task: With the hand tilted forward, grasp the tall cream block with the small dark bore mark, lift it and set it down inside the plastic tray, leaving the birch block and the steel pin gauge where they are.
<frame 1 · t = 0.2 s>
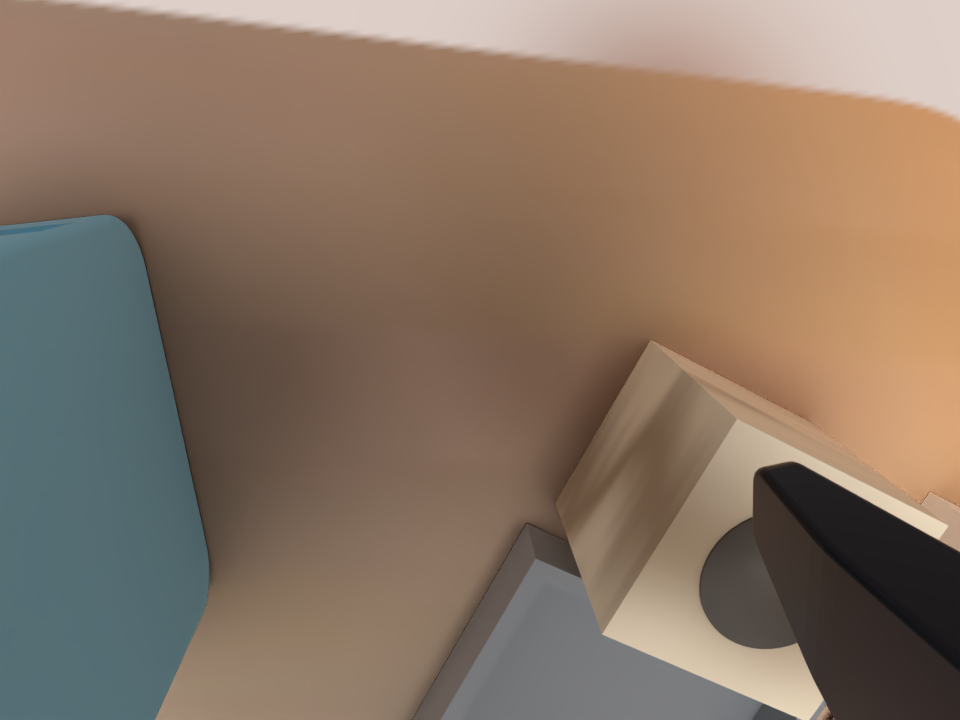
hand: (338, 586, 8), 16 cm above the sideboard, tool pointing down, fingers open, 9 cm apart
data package: (105, 417, 24), on the sideboard
birch block: (682, 462, 26), on the sideboard
tray: (589, 715, 28), on the sideboard
cream block: (948, 575, 27), on the sideboard
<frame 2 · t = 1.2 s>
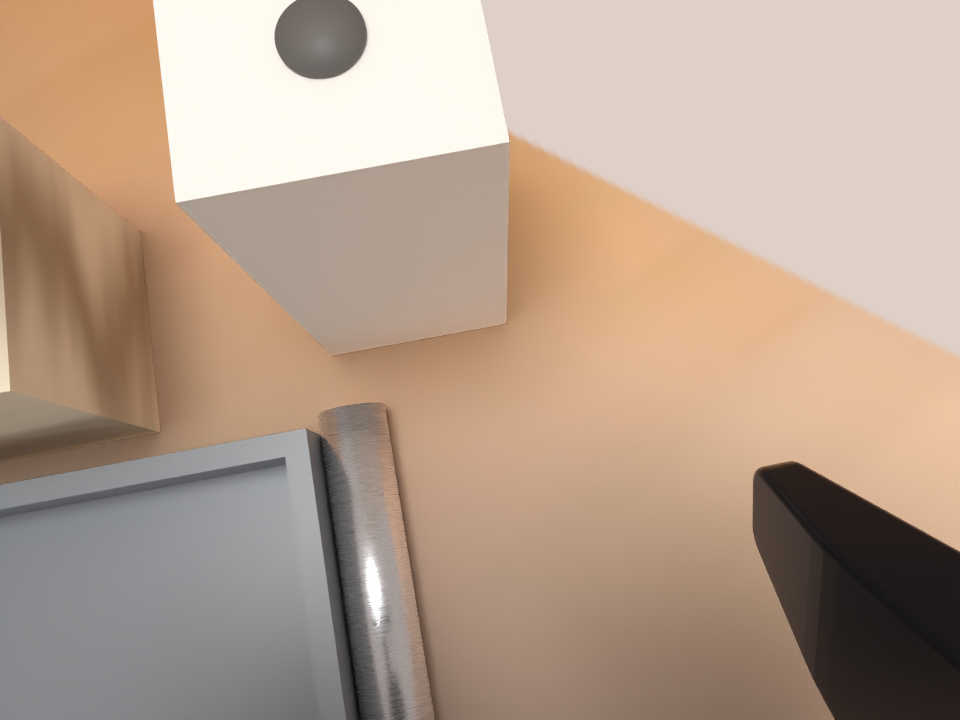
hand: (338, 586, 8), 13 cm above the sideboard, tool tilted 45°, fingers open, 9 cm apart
birch block: (47, 348, 23), on the sideboard
pin gauge: (364, 606, 20), point 1 cm above the sideboard, tilted 163°
tray: (146, 683, 21), on the sideboard
cream block: (406, 264, 23), on the sideboard
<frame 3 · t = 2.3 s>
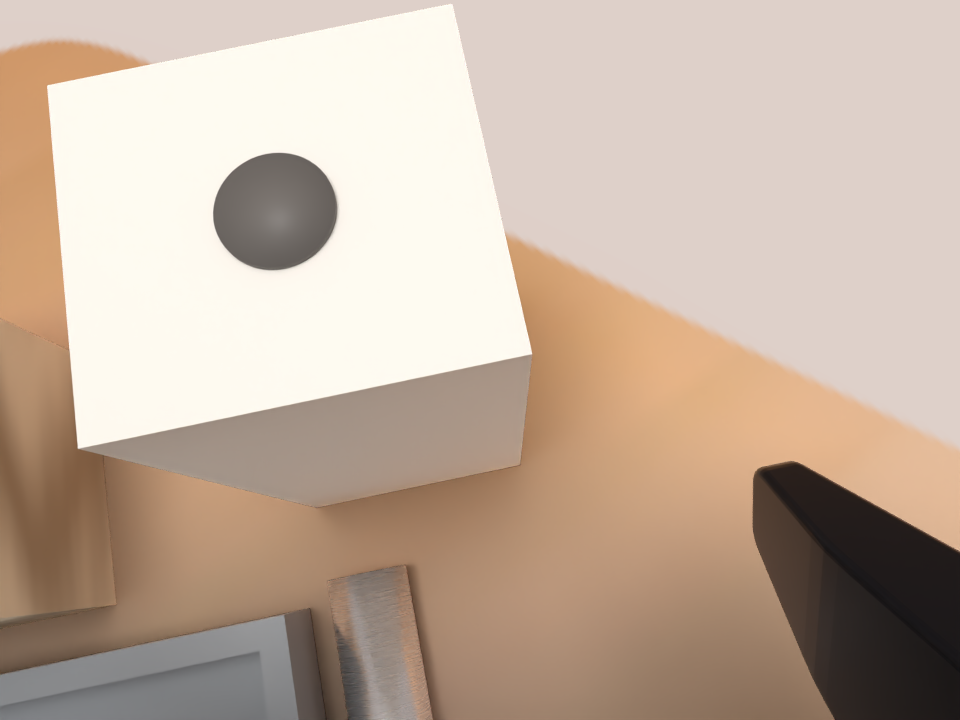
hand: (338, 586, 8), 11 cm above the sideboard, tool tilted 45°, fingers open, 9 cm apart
cream block: (401, 396, 20), on the sideboard
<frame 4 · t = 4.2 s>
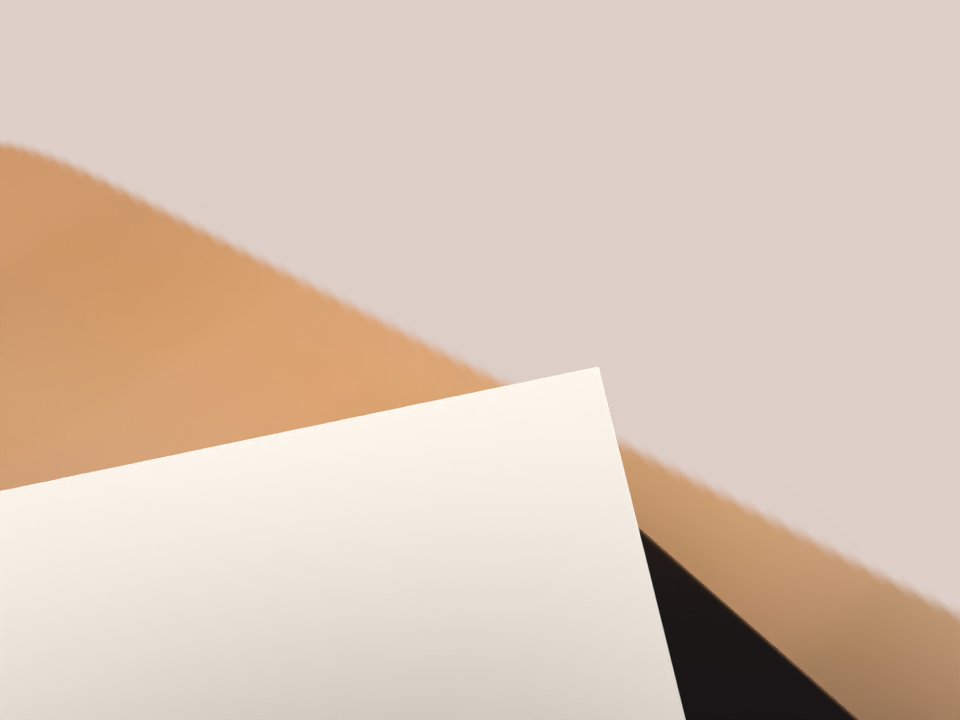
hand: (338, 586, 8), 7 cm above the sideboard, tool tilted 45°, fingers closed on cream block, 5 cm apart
cream block: (427, 650, 15), on the sideboard, touching gripper
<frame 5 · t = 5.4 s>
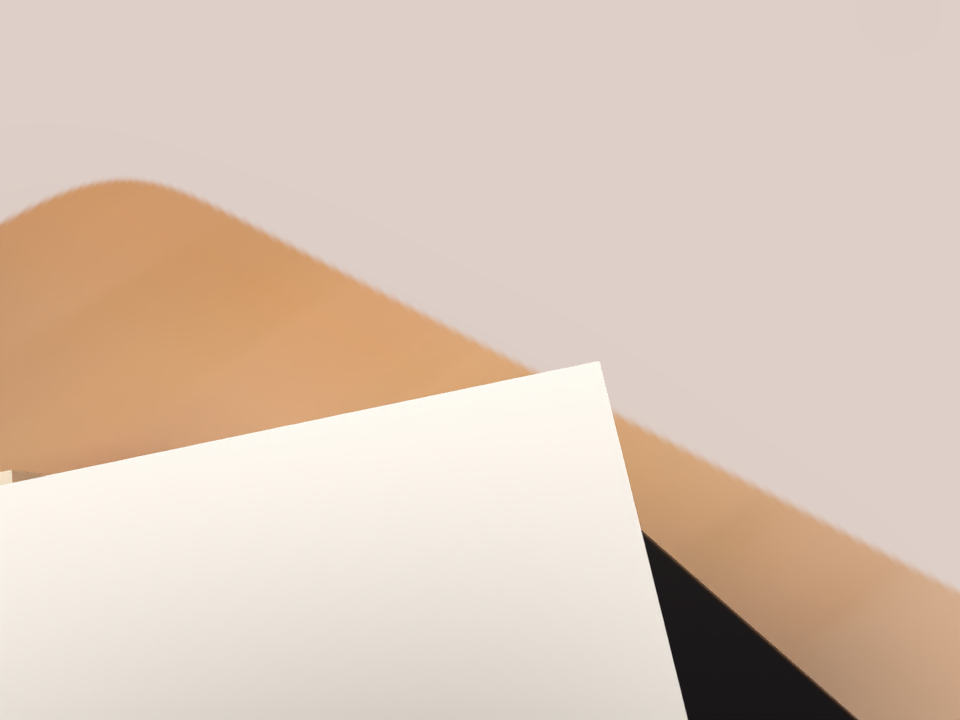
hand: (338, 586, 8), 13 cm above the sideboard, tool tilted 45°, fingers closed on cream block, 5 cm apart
birch block: (64, 627, 22), on the sideboard
cream block: (427, 648, 15), point 7 cm above the sideboard, touching gripper
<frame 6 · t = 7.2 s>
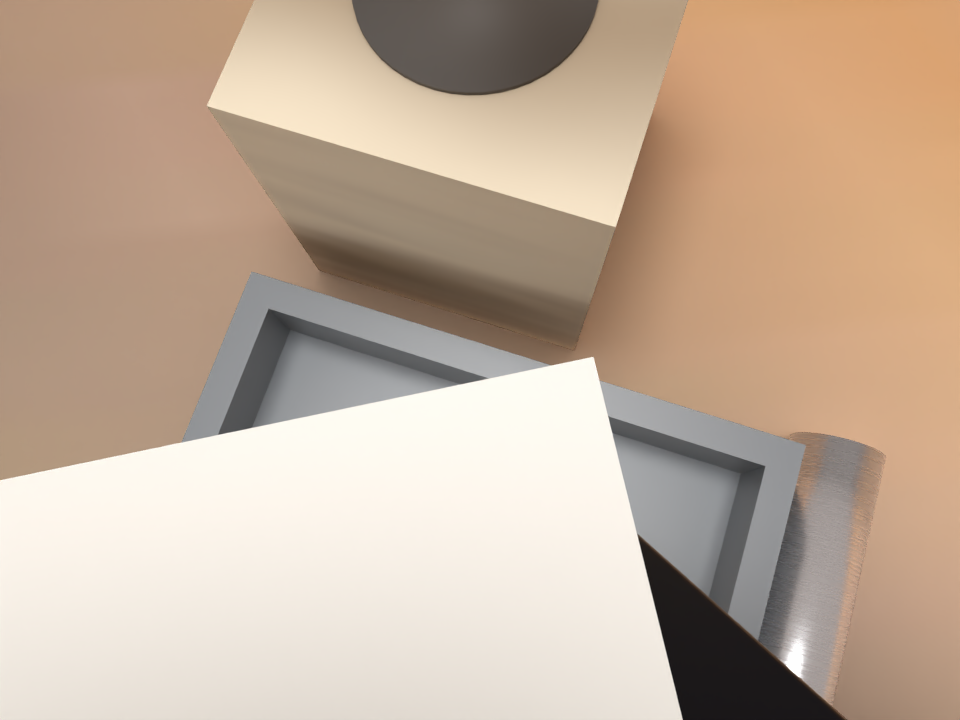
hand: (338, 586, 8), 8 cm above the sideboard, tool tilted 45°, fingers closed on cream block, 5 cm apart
birch block: (487, 190, 19), on the sideboard
pin gauge: (755, 693, 15), point 1 cm above the sideboard, tilted 134°
tray: (434, 631, 16), on the sideboard
cream block: (425, 647, 15), point 2 cm above the sideboard, touching gripper
when the fingers open (8 cm above the sideboard, at t = 7.4 s): cream block drops 1 cm, resting on tray.
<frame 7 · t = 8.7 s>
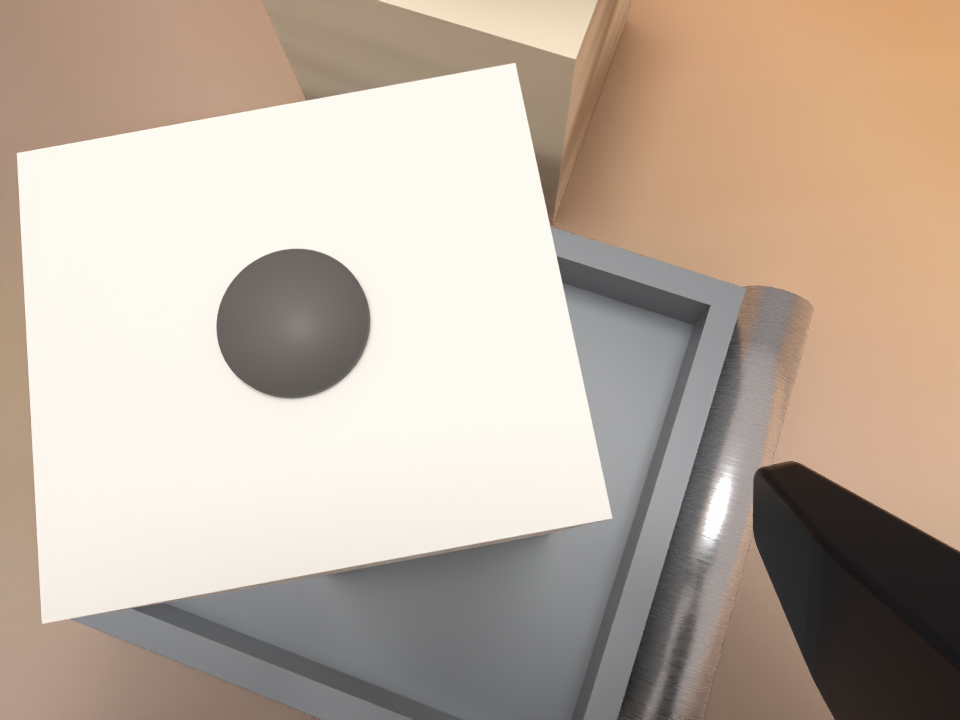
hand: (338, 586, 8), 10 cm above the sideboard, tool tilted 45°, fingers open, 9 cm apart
birch block: (480, 87, 21), on the sideboard
pin gauge: (685, 497, 17), point 1 cm above the sideboard, tilted 124°
tray: (424, 457, 19), on the sideboard
cream block: (421, 453, 18), point 1 cm above the sideboard, touching tray
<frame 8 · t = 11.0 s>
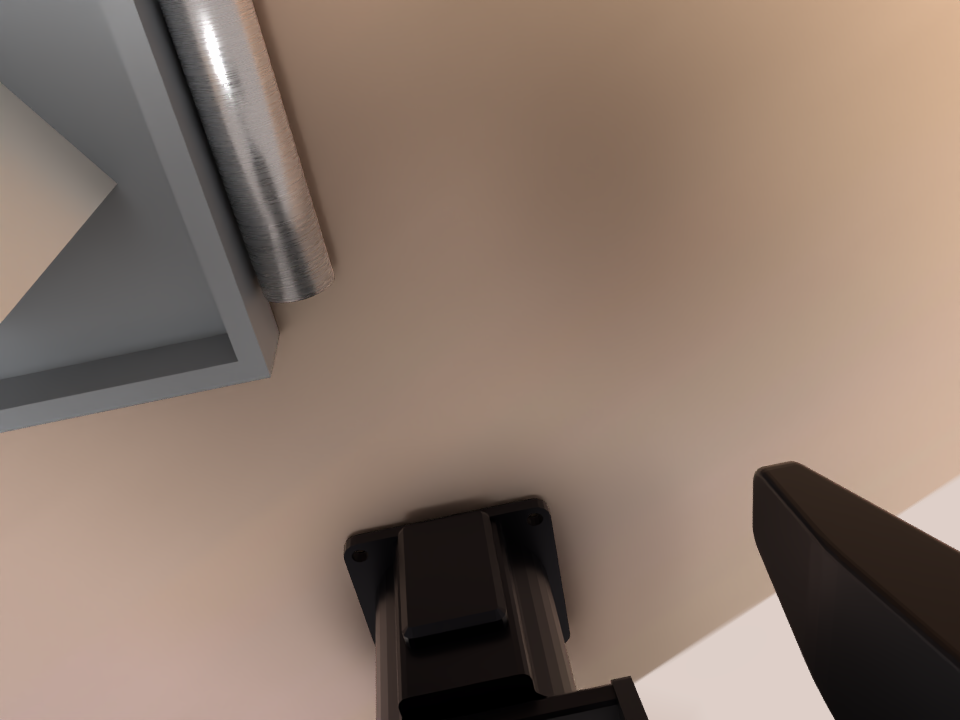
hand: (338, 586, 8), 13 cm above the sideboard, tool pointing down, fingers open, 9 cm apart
pin gauge: (190, 91, 17), point 1 cm above the sideboard, tilted 110°
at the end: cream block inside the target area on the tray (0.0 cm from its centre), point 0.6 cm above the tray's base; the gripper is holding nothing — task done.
